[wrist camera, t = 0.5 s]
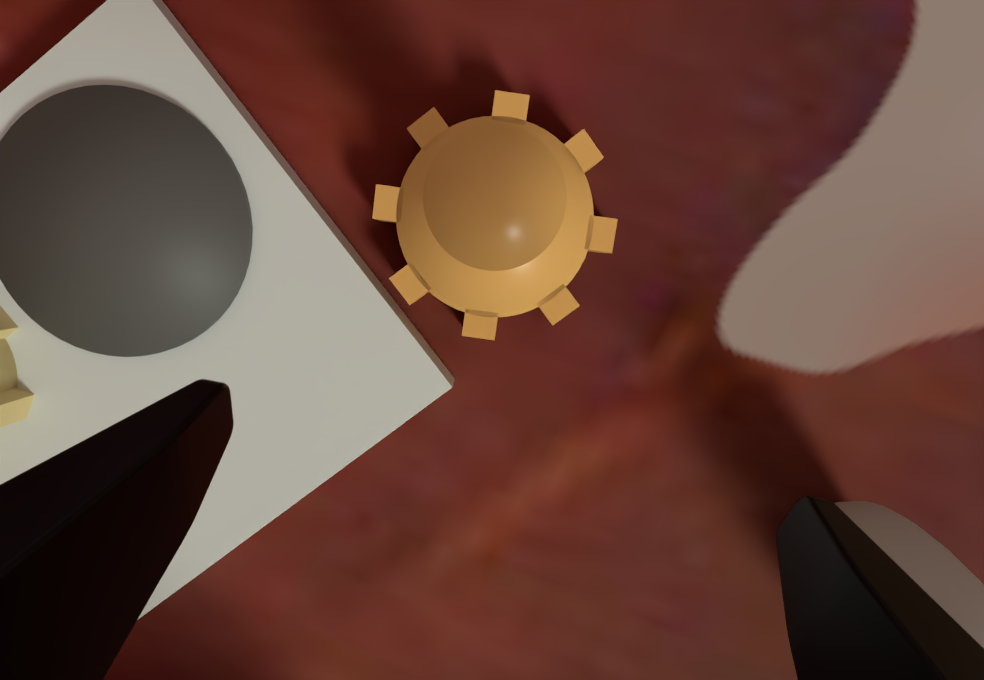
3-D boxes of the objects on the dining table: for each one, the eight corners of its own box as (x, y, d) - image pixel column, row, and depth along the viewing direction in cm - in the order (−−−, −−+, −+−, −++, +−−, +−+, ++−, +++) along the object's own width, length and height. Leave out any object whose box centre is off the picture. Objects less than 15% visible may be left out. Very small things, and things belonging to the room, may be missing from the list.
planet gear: (473, 374, 24) (458, 458, 14) (338, 199, 23) (222, 159, 13) (650, 244, 23) (763, 237, 14) (518, 57, 22) (536, -98, 13)
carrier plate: (113, 631, 26) (33, 710, 21) (-192, 296, 24) (-350, 305, 19) (454, 378, 24) (445, 407, 20) (157, -5, 22) (73, -70, 18)
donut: (748, 486, 25) (916, 640, 15) (825, 446, 25) (1047, 576, 15) (850, 678, 26) (1068, 939, 16) (924, 643, 26) (1191, 886, 16)
